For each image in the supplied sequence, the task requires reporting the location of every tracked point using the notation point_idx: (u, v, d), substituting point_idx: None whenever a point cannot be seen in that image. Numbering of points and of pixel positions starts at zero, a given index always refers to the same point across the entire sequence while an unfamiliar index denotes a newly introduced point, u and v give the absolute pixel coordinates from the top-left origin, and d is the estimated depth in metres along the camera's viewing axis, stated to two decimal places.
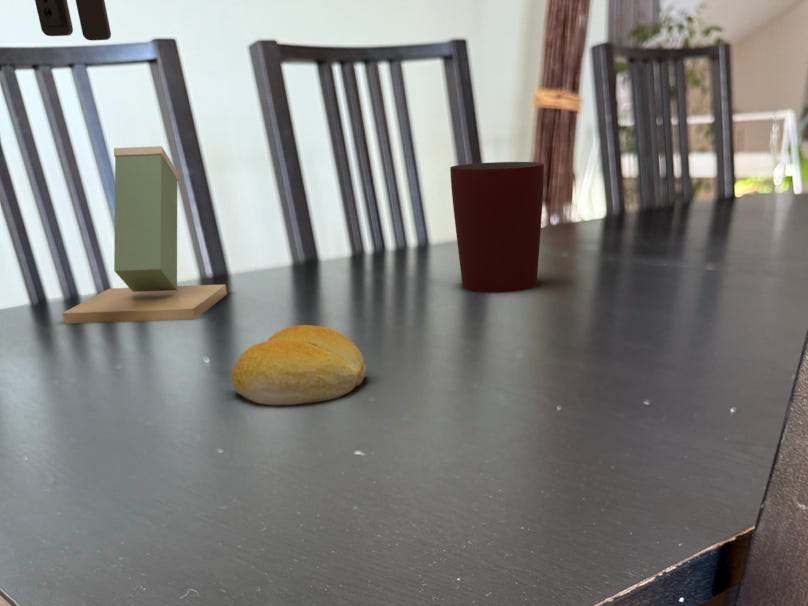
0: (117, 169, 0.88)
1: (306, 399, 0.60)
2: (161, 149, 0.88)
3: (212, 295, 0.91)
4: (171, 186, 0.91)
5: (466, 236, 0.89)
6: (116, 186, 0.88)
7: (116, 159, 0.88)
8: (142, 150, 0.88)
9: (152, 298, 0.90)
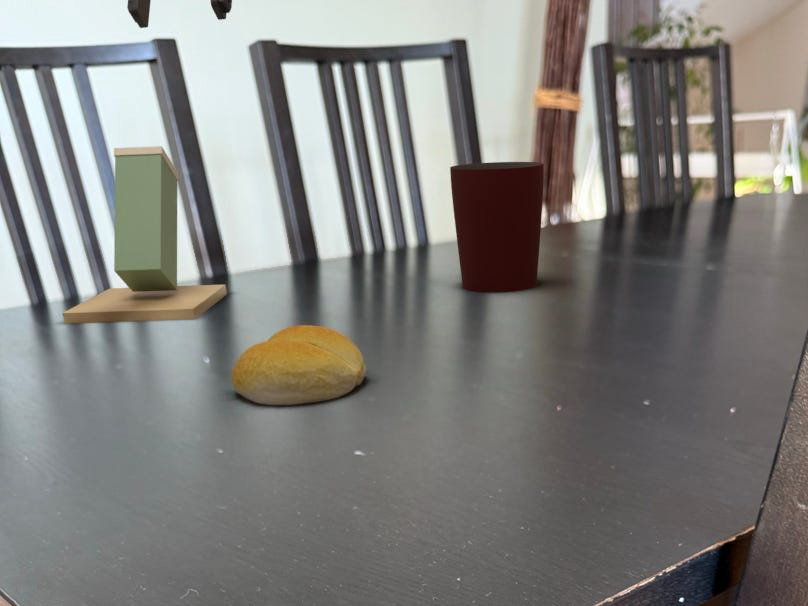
0: (117, 169, 0.88)
1: (306, 399, 0.60)
2: (161, 149, 0.88)
3: (212, 295, 0.91)
4: (171, 186, 0.91)
5: (466, 236, 0.89)
6: (116, 186, 0.88)
7: (116, 159, 0.88)
8: (142, 150, 0.88)
9: (152, 298, 0.90)
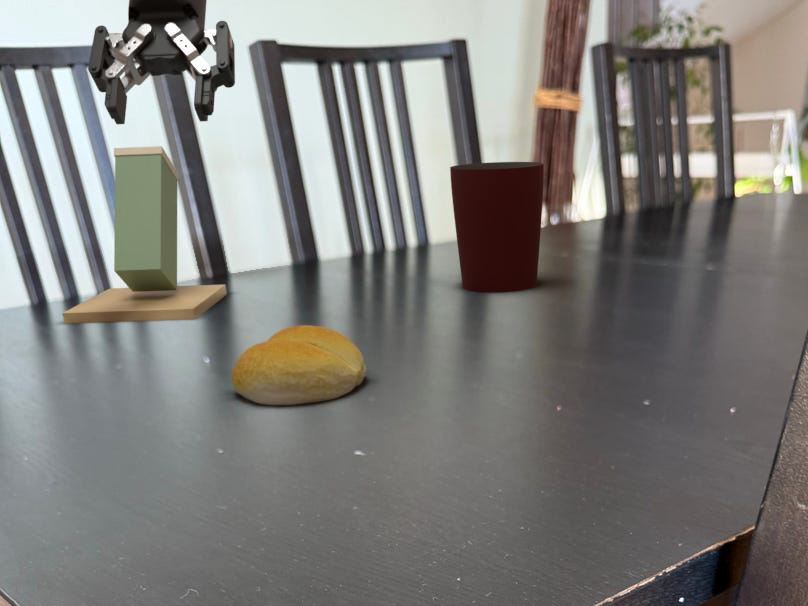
0: (117, 169, 0.88)
1: (306, 399, 0.60)
2: (161, 149, 0.88)
3: (212, 295, 0.91)
4: (171, 186, 0.91)
5: (466, 236, 0.89)
6: (116, 186, 0.88)
7: (116, 159, 0.88)
8: (142, 150, 0.88)
9: (152, 298, 0.90)
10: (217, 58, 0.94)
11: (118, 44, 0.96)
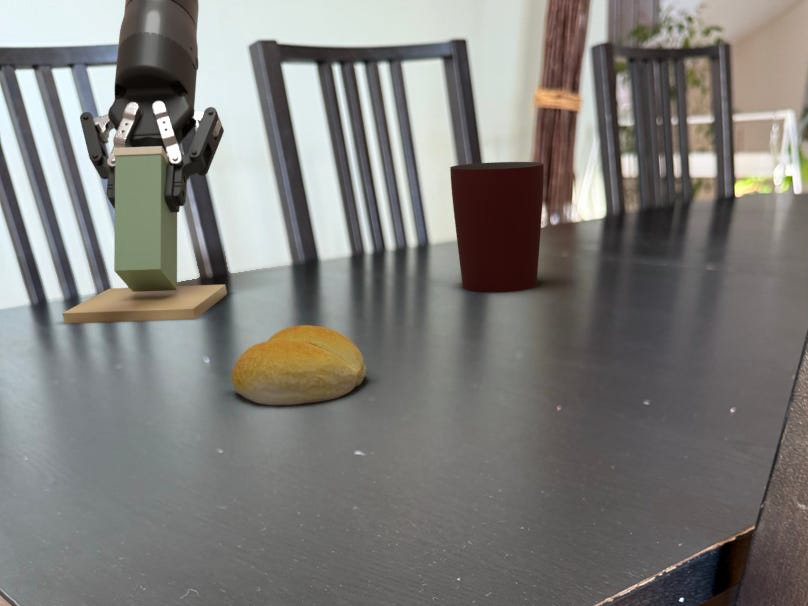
0: (117, 169, 0.88)
1: (306, 399, 0.60)
2: (161, 149, 0.88)
3: (212, 295, 0.91)
4: None
5: (466, 236, 0.89)
6: (116, 186, 0.88)
7: (116, 159, 0.88)
8: (142, 150, 0.88)
9: (152, 298, 0.90)
10: (191, 145, 0.90)
11: (106, 127, 0.92)
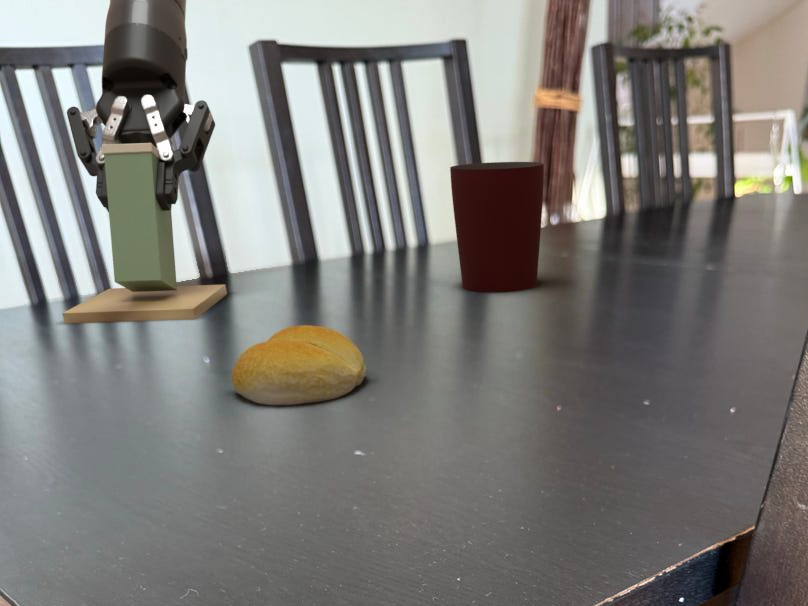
0: (107, 169, 0.86)
1: (306, 399, 0.60)
2: (151, 146, 0.86)
3: (212, 295, 0.91)
4: None
5: (466, 236, 0.89)
6: (108, 188, 0.86)
7: (105, 157, 0.86)
8: (131, 147, 0.86)
9: (152, 298, 0.90)
10: (182, 141, 0.88)
11: (94, 122, 0.90)
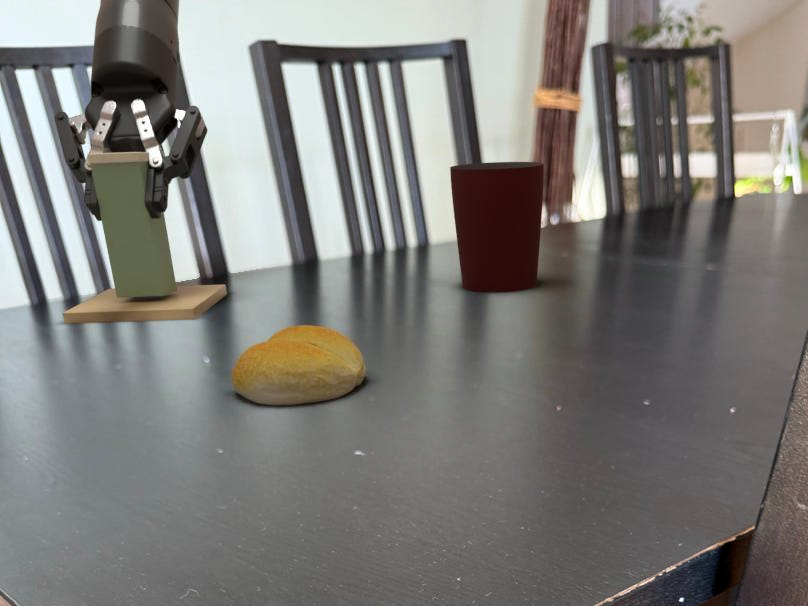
0: (96, 180, 0.83)
1: (306, 399, 0.60)
2: (138, 156, 0.83)
3: (212, 295, 0.91)
4: None
5: (466, 236, 0.89)
6: (99, 201, 0.84)
7: (92, 167, 0.83)
8: (118, 157, 0.83)
9: (152, 298, 0.90)
10: (172, 147, 0.85)
11: (83, 127, 0.87)
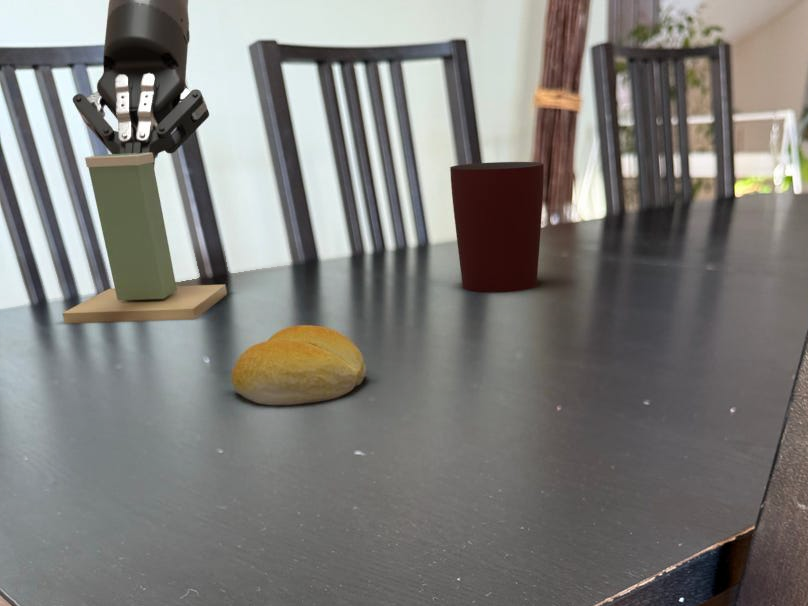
0: (94, 183, 0.83)
1: (306, 399, 0.60)
2: (136, 159, 0.82)
3: (212, 295, 0.91)
4: (151, 182, 0.85)
5: (466, 236, 0.89)
6: (98, 204, 0.84)
7: (90, 171, 0.83)
8: (116, 160, 0.82)
9: None
10: (162, 121, 0.88)
11: (100, 104, 0.90)
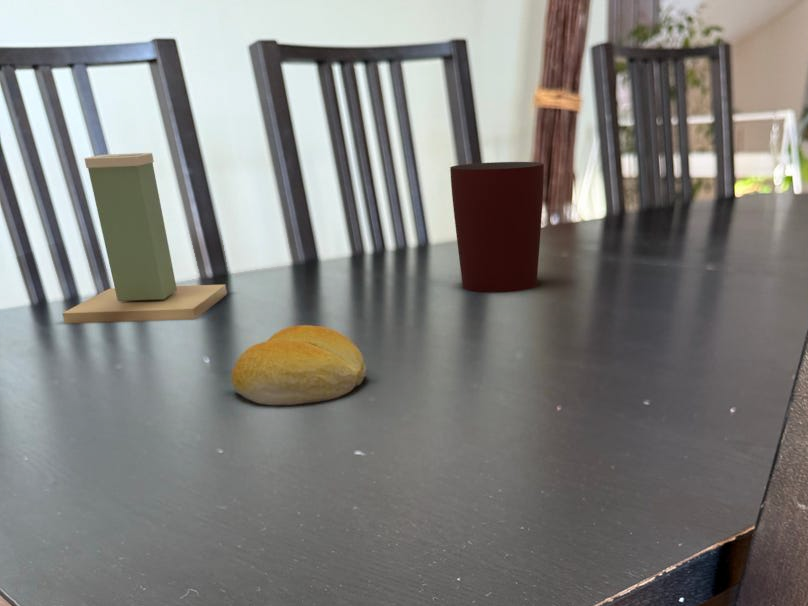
0: (94, 184, 0.83)
1: (306, 399, 0.60)
2: (136, 160, 0.82)
3: (212, 295, 0.91)
4: (150, 182, 0.85)
5: (466, 236, 0.89)
6: (97, 205, 0.84)
7: (90, 172, 0.83)
8: (116, 161, 0.82)
9: None
10: None
11: None
